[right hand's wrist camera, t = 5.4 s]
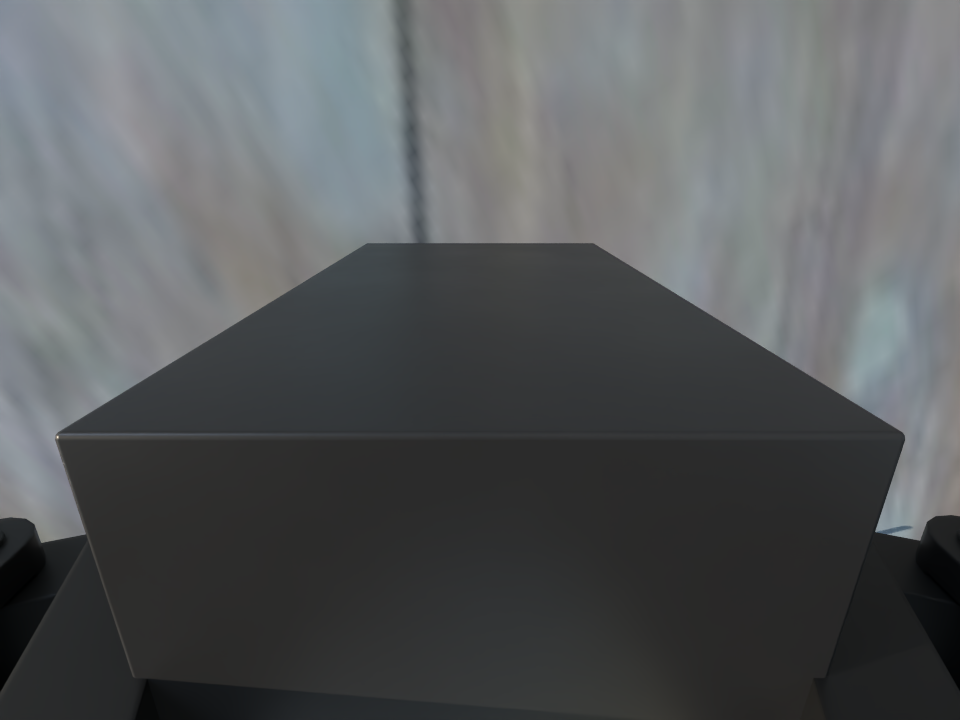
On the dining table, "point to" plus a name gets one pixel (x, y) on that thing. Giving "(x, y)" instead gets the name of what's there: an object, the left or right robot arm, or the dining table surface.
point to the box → (480, 501)
